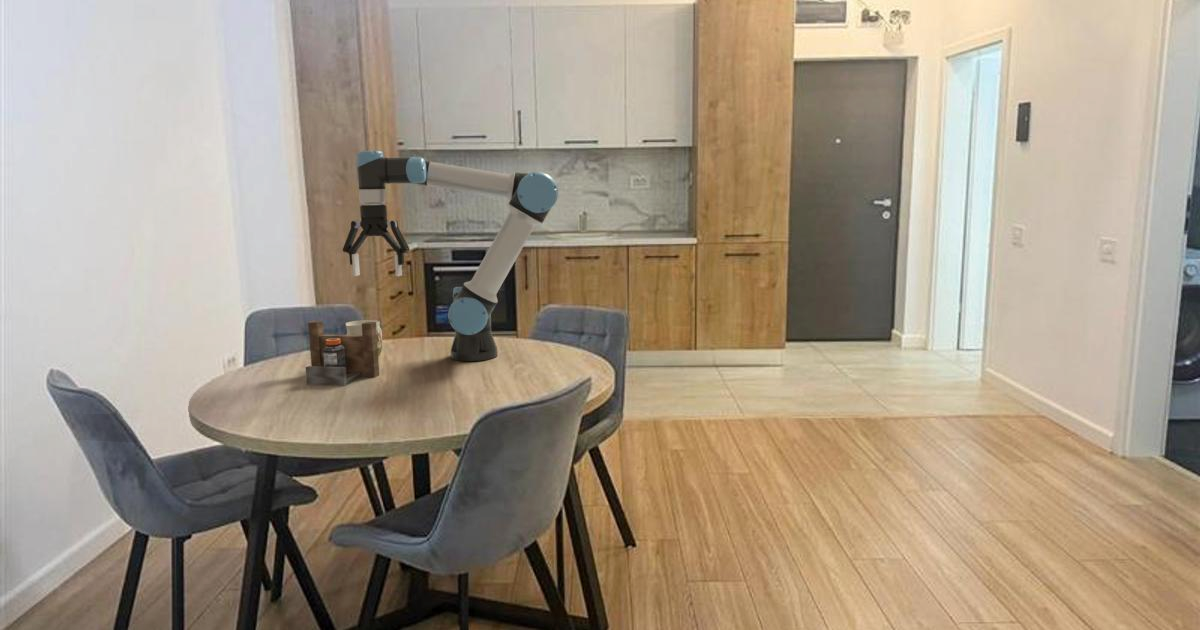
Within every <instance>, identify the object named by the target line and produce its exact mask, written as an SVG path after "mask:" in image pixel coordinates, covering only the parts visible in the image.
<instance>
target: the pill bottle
mask: <svg viewBox="0 0 1200 630" xmlns="http://www.w3.org/2000/svg"><path fill="white" fill-rule="evenodd" d="M323 355H324V367H346V359H345V348H344V346H342V345H341V340H340V338H330V339H327V340H326V347H324V349H323ZM346 376H347V371H346Z"/></svg>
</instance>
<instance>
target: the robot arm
mask: <svg viewBox="0 0 1200 630" xmlns="http://www.w3.org/2000/svg"><path fill="white" fill-rule="evenodd" d="M356 158H357V159H356V163H357V164H356V170H357V171H356V172H357V181H358V195H359V197H358V198H359V204H360V206H359V213H360V221H359V220H352V221H351V222H350V230H349V232H348V235H347V237H346V239H345V243H344V245H343V246H342V252H343V253H347V254H348V256H349V263H350V266H351V265H352V275H353V277H357V276H360V275H361V271H360V270H361V269H360V256H359V253H358V250H359V249H360V247H361V246H362V245H363V243H364V242H365V240H366V239H367V238H368V237H374V236H375V237H380V236H381V237H382V238H383V239H384V240H385V241H386V242H387V243H388V244H389V245H390V247H391V248H392V249H393V250H394V252H395V254H394V268H395V269H394V270H395V277H401V276H403V269H402V268H403V267H402V265H405V259H404V258H405V256H404V254H405V253H407V252H410V247H409V245H408V243H407V241H406V239H405V237H404V235H403V233H402V232H401V230H400V227H399V223H398V220H390V221H388V213H387V211H388V209H387V205H386V203H387V198H386V197H387V195H386V194H387V193H386V184H388V185H389V184H413V185H419V186H428V187H433V188H439V189H446V190H450V191H457V192H458V191H459V192H464V193H470V194H477V195H483V196H489V197H494V198H501V199H505V200H507V201H508V204H507V205H508V209H509V213H508V215H507V216H506V218H505V220H504V222H503V223H502V225H501V227H500V229H499V230H498V233H497V234H496V236H495V238H494V239H493V241H492V243H491V244H490V246H489V248H488V250H487V252H486V254H485V256H484V257H483V259H482V261H481V262H480V264H479V265H478V267H477V270H476V271H475V273H474V274H473V276H472V278H471V280H469V281H465V282H463V285H462V286H456V287H454V288H453V291H452V298H453V299H452V300H453V302H452V303H451V304H450V306H449V308H448V311H447V317H448V321H449V324H450V326H451V328H453V330H454V335H453V336H454V337H453V340H452V343H451V348H450V358H451V359H452V360H454V361H459V362H480V361H486V360H492V359H494V358H496V357H498V351H499V350H498V347H497V344H496V342H495V339H494V336H493V333H492V317H491V316H492V315H491V314H492V313H493V311H494V309H495V307H496V306H497V304H498V302H499V299H498V297H497V296H498V295H497V294H498V292H499V290H500V289H501V287H502V284H503V283H504V281H505V280H506V278H507V276H508V274H509V273H510V271H511V270H512V268H513V266H514V263H515V262H516V261H517V259H518V257H519V255H520V253H521V252H522V250H523V248H524V246H525V244H526V243H527V241H528V239H529V237H530V236H531V234H532V231H533V230H534V229H535V227H536V226H540V225H543V223H544V221H545V220H546V218H547V216H548V215H549V213H550V211H551V209H553V207H554V206H555V204H556V202H557V201H558V198H559V188H558V185H557V182H556V181H555V179H554V178H553V177H552V176H551V175H549V174H548V173H546V172H543V171H532V172H529V173H528V172H527V173H525V172H518V171H517V172H516V171H514V172H513V173H511V174H509V173H503V172H495V171H490V170H485V169H478V168H471V167H466V166H465V167H464V166H460V165H452V164H446V163H441V162H434V161H428V160H425V158H423V157H418V156H417V157H416V156H409V157H385V156H384V153H383V151H381V150H360V151H359V152H358V153H357V155H356ZM388 227H389V228H390V229H391V231H392V234H393V235H394V237H395V238H394V237H393V236H392V234H391V233H390V232H389V231H388ZM360 228H361V229H362V231H361V232H360V234H359V235H358V237H356V236H357V233H358V232H359V229H360ZM355 239H356V240H355Z"/></svg>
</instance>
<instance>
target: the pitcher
mask: <svg viewBox="0 0 1200 630" xmlns="http://www.w3.org/2000/svg"><path fill="white" fill-rule="evenodd" d="M364 322H376V330H377V345H378V360H379V359H380V357H381V354H382V349H383V332H382V331H383V330H382V328H381V326H380V322H381V321H380V320H376V319H375V320H374V319H364V320H363V319H362V320H361V319H360V320H353V321H349V322H345V323H344V324H345V327H346V335H362V323H364Z"/></svg>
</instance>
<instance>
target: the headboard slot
mask: <svg viewBox="0 0 1200 630" xmlns="http://www.w3.org/2000/svg"><path fill="white" fill-rule="evenodd" d="M323 321H324V320H312V321H311V320H310V321H309V322H307V327H308V337H309V338H308V340H309V341H308V342H309V350H310V351H309V352H310V362H311V363H310V364H311V365H308V366H306V367H305V375H306V376H305V377H306V385H310V386H311V385H312V386H313V385H315V386H317V385H318V386H343V387H344V386H347V385H349V384H351V383H353V382H355V381H356V380H358V379H361V378H362V377H365V378H377V377H378V376H380V365H379V364H380V363H379V360H378V345H377V330H376V322H364V323H362V335H347V334H326V333H325V332H324V322H323ZM330 338H340V340H341V345H342V346H344V348H345V359H346V367H324V355H323V349H324V347H326V340H327V339H330ZM346 371H347V376H346Z"/></svg>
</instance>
